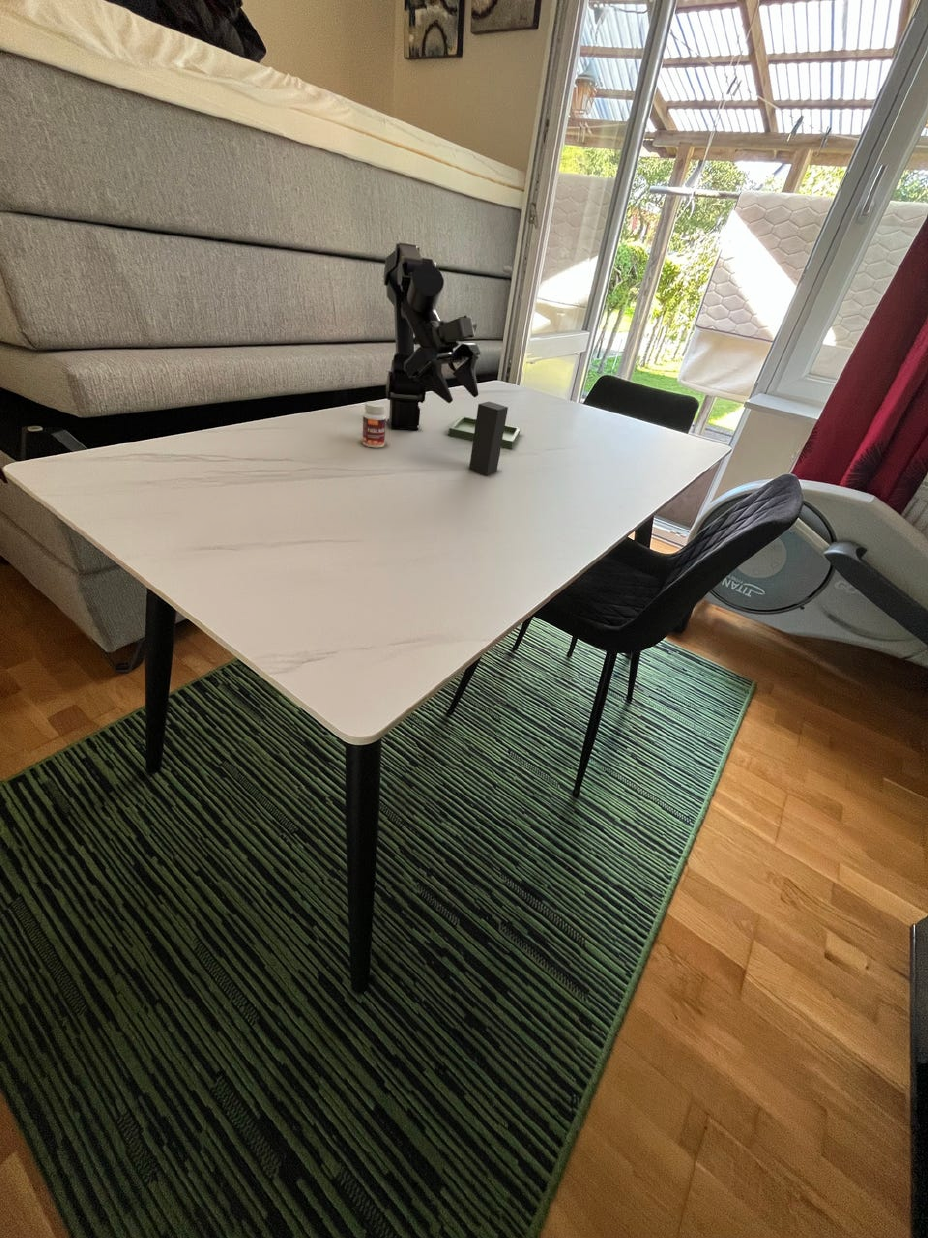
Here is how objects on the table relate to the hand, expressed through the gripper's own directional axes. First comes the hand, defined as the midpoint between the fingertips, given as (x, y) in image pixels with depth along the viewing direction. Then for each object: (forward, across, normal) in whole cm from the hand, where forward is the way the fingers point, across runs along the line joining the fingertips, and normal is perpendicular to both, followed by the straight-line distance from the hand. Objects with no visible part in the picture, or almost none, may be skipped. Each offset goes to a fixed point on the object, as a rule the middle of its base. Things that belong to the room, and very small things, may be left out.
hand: (464, 398), depth 103 cm
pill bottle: (-3, -8, +21) cm, 22 cm away
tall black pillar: (+14, 0, +4) cm, 14 cm away
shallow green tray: (+5, +21, +13) cm, 25 cm away
